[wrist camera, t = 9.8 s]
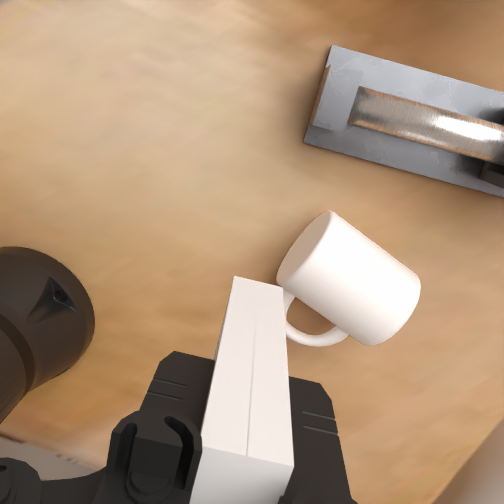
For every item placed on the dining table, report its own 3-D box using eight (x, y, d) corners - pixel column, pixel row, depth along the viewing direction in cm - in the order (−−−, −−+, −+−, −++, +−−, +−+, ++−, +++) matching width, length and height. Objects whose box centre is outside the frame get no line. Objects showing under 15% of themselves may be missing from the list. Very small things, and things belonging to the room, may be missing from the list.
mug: (327, 200, 39) (337, 224, 32) (407, 261, 41) (434, 297, 33) (252, 291, 43) (245, 331, 36) (327, 344, 45) (336, 393, 37)
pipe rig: (303, 141, 38) (305, 148, 32) (331, 45, 35) (339, 36, 29) (562, 212, 38) (607, 231, 33) (610, 123, 35) (668, 128, 30)
